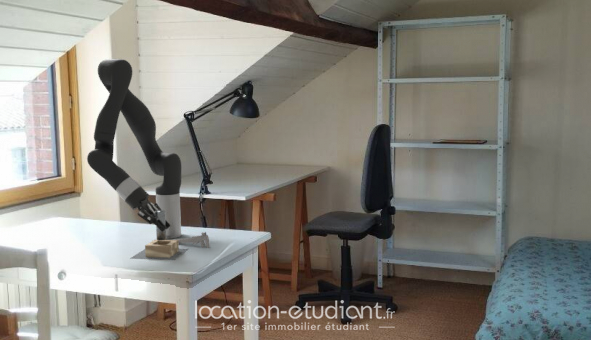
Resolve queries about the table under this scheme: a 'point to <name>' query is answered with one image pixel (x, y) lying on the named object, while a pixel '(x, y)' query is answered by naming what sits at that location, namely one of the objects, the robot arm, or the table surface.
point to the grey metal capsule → (161, 215)
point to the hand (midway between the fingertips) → (166, 228)
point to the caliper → (196, 240)
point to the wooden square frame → (161, 248)
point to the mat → (143, 256)
